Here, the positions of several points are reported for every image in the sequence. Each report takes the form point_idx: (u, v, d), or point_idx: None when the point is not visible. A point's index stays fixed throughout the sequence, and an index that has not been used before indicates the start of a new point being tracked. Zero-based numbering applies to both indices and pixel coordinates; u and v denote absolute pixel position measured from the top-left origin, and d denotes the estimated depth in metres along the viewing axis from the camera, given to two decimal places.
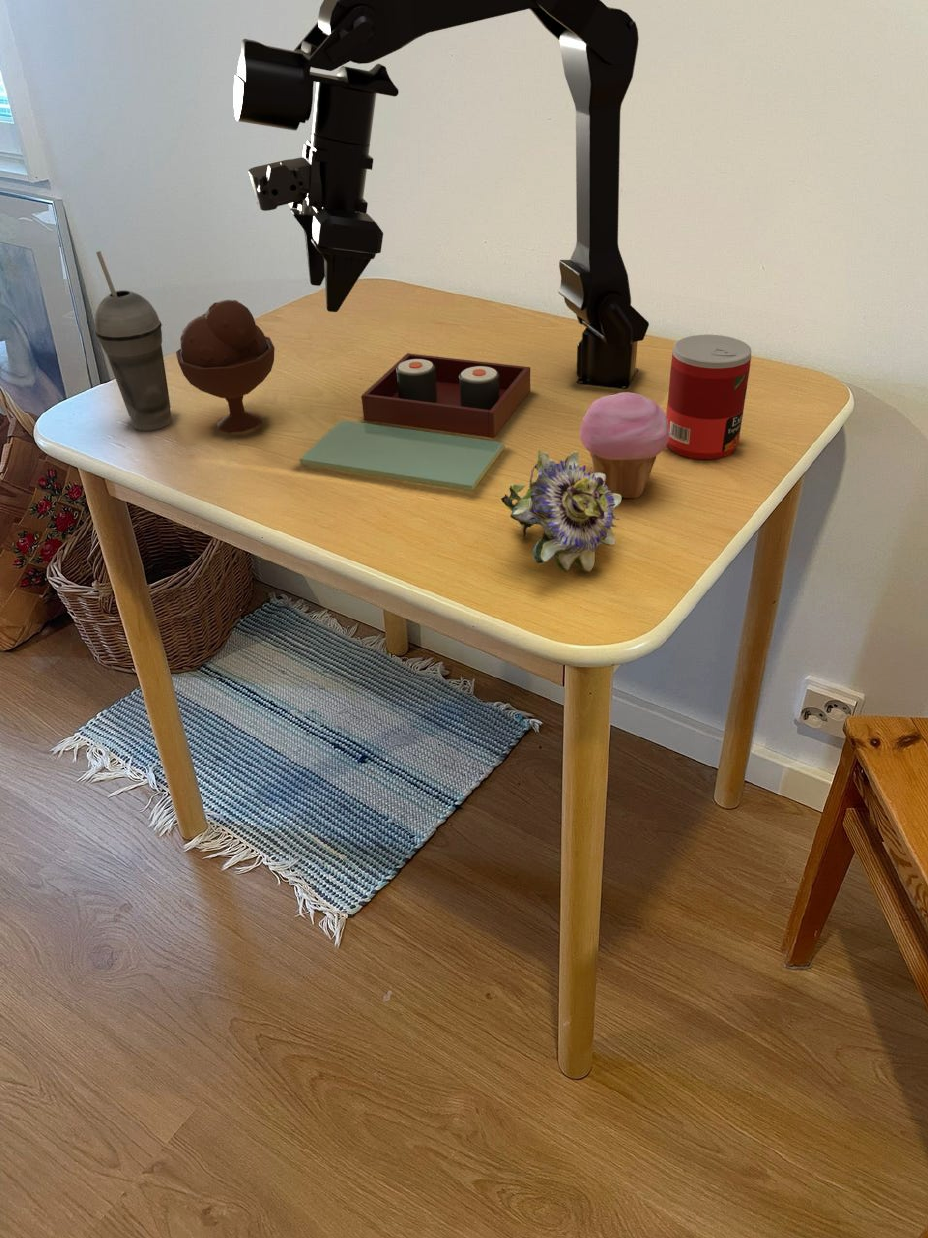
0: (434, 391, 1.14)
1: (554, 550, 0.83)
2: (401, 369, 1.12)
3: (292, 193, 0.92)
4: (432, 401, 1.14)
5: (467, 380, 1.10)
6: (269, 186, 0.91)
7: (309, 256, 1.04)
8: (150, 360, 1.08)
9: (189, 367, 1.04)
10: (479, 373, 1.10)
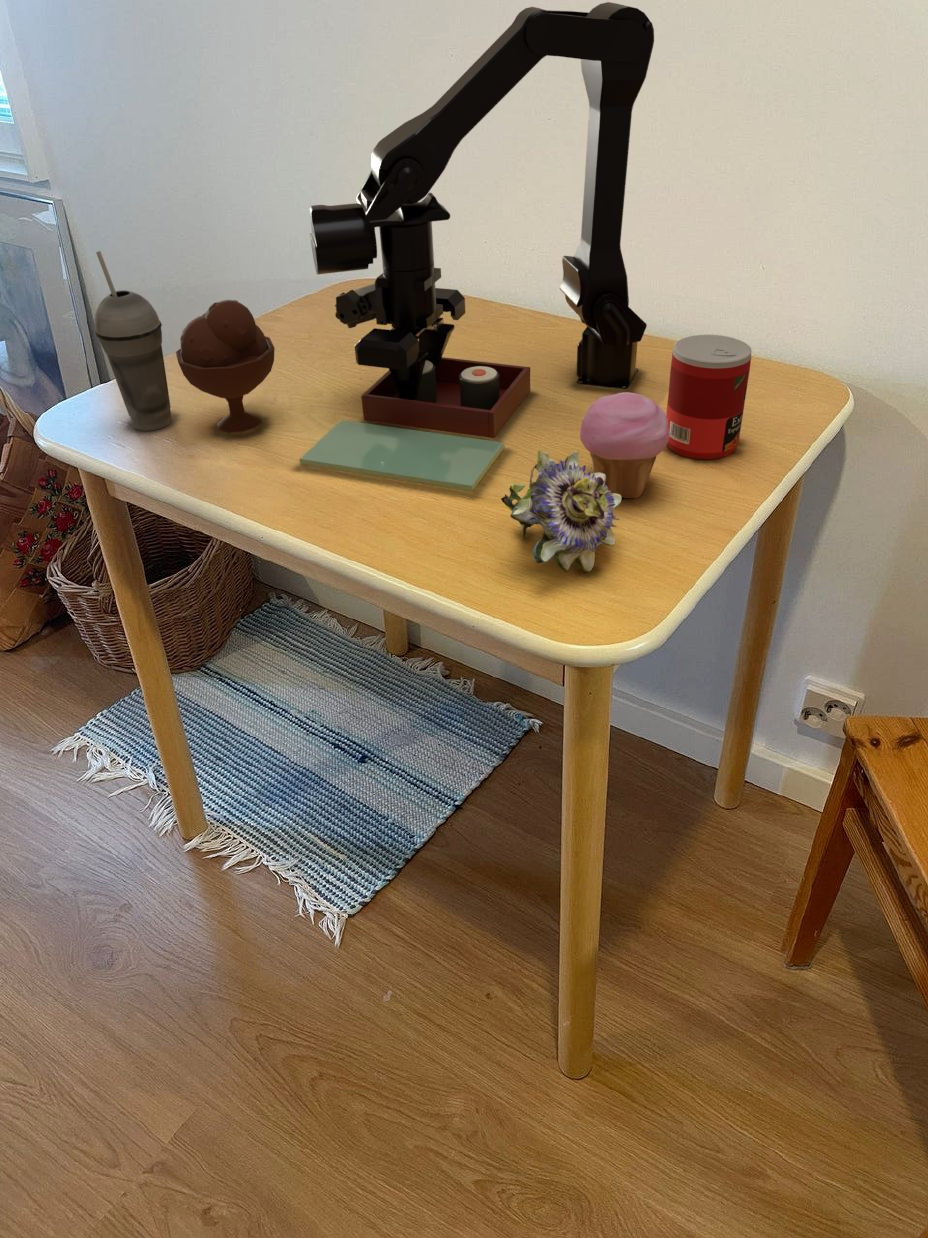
0: (434, 391, 1.14)
1: (554, 550, 0.83)
2: None
3: (354, 316, 1.07)
4: (432, 401, 1.14)
5: (467, 380, 1.10)
6: (337, 311, 1.08)
7: None
8: (150, 360, 1.08)
9: (189, 367, 1.04)
10: (479, 373, 1.10)
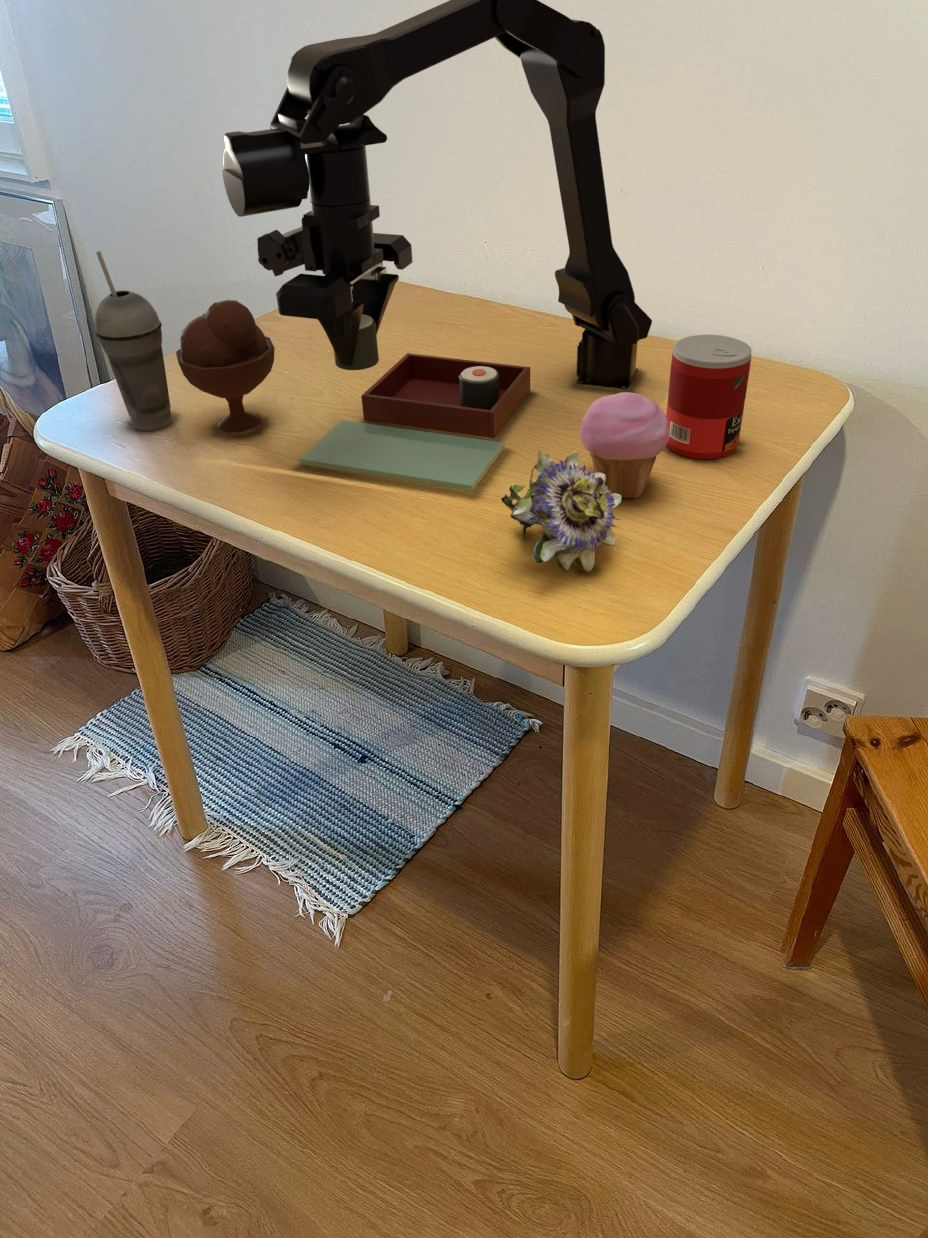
0: (374, 350, 0.99)
1: (554, 550, 0.83)
2: None
3: (279, 260, 0.93)
4: (372, 362, 1.00)
5: (467, 380, 1.10)
6: (259, 255, 0.93)
7: None
8: (150, 360, 1.08)
9: (189, 367, 1.04)
10: (479, 373, 1.10)
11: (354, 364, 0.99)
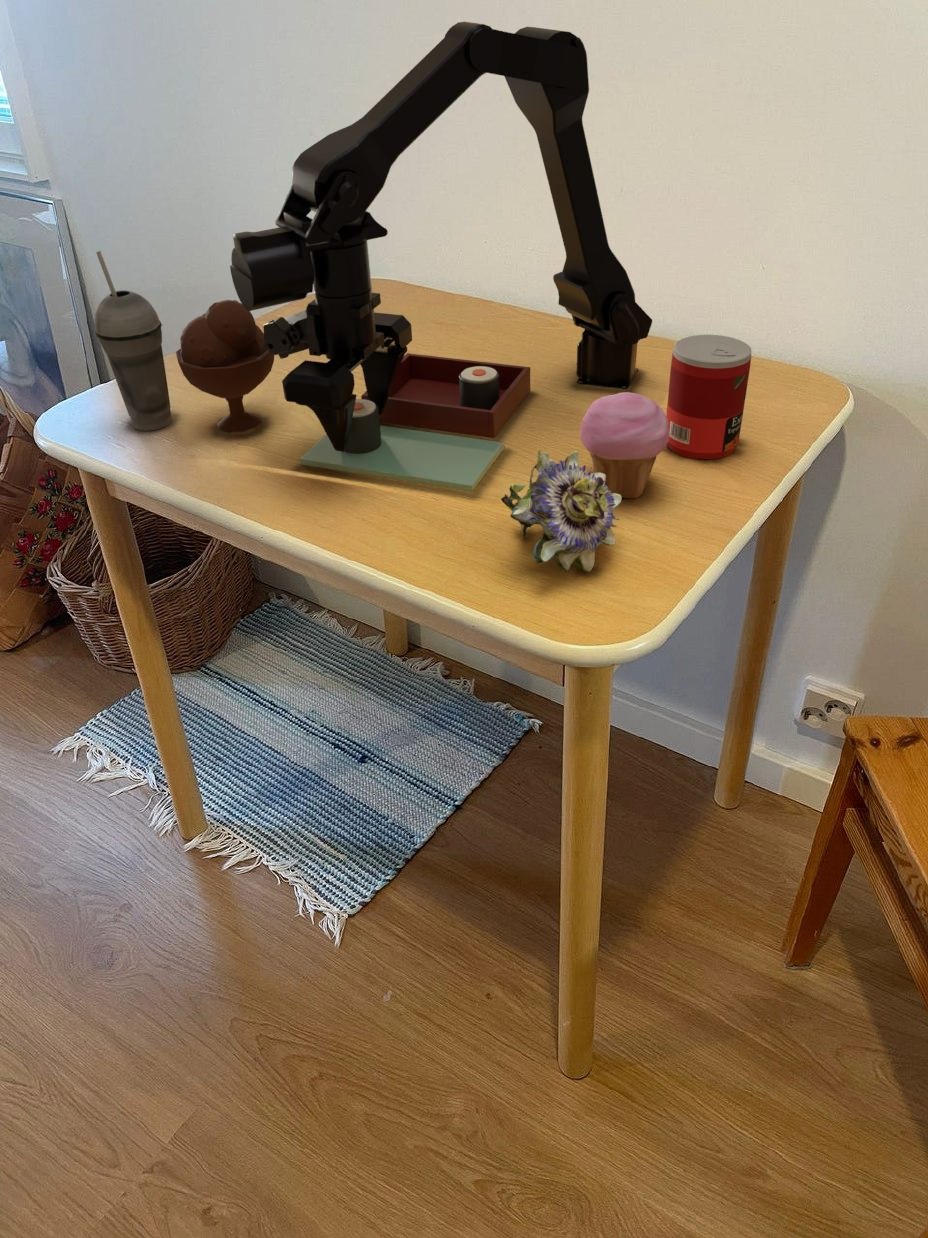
0: (377, 435, 1.04)
1: (554, 550, 0.83)
2: None
3: (284, 346, 0.97)
4: (375, 445, 1.04)
5: (467, 380, 1.10)
6: (265, 341, 0.97)
7: (366, 388, 1.07)
8: (150, 360, 1.08)
9: (189, 367, 1.04)
10: (479, 373, 1.10)
11: (358, 448, 1.03)
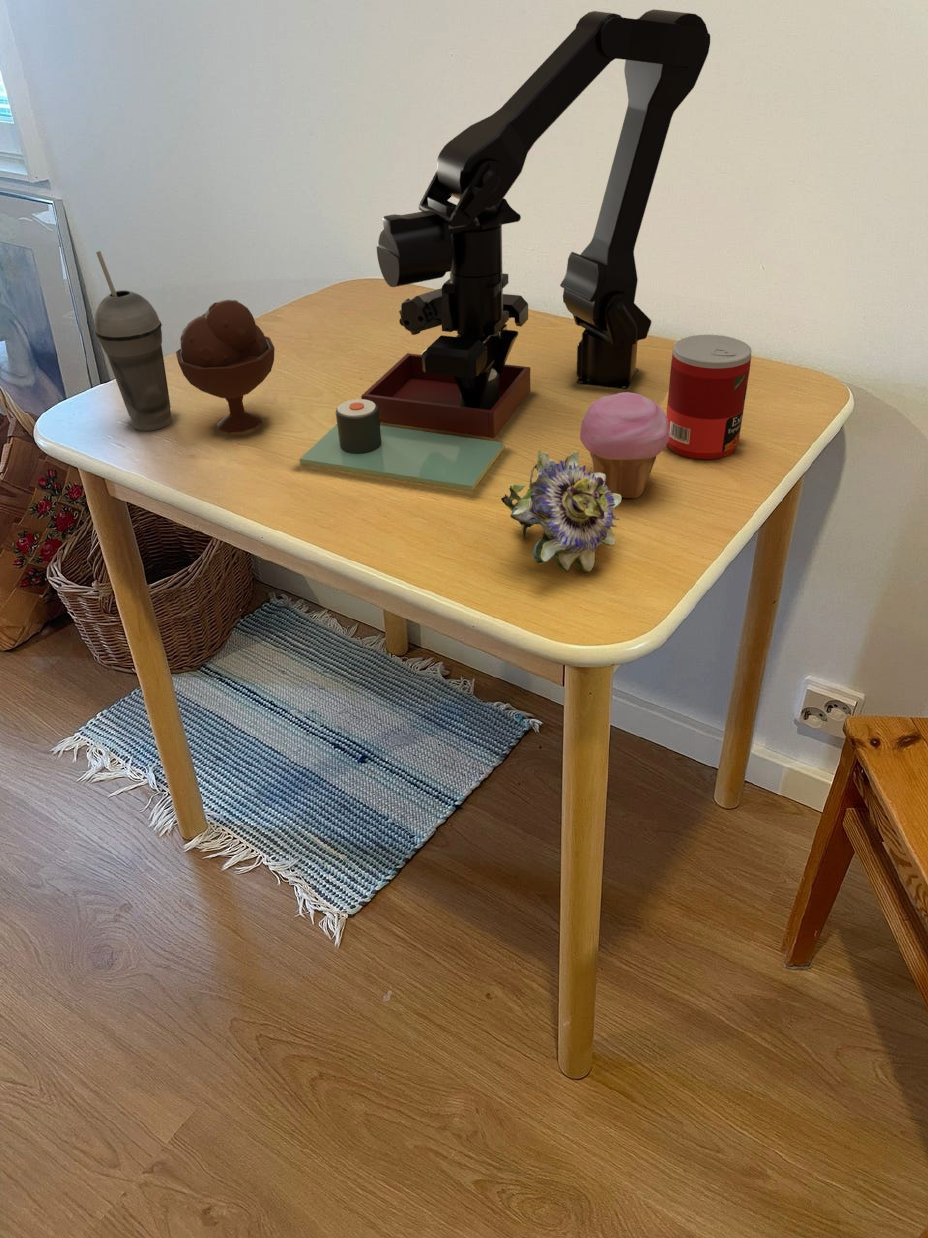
0: (377, 435, 1.04)
1: (554, 550, 0.83)
2: (340, 411, 1.02)
3: (420, 323, 1.05)
4: (375, 445, 1.04)
5: None
6: (401, 318, 1.05)
7: None
8: (150, 360, 1.08)
9: (189, 367, 1.04)
10: None
11: (358, 448, 1.03)
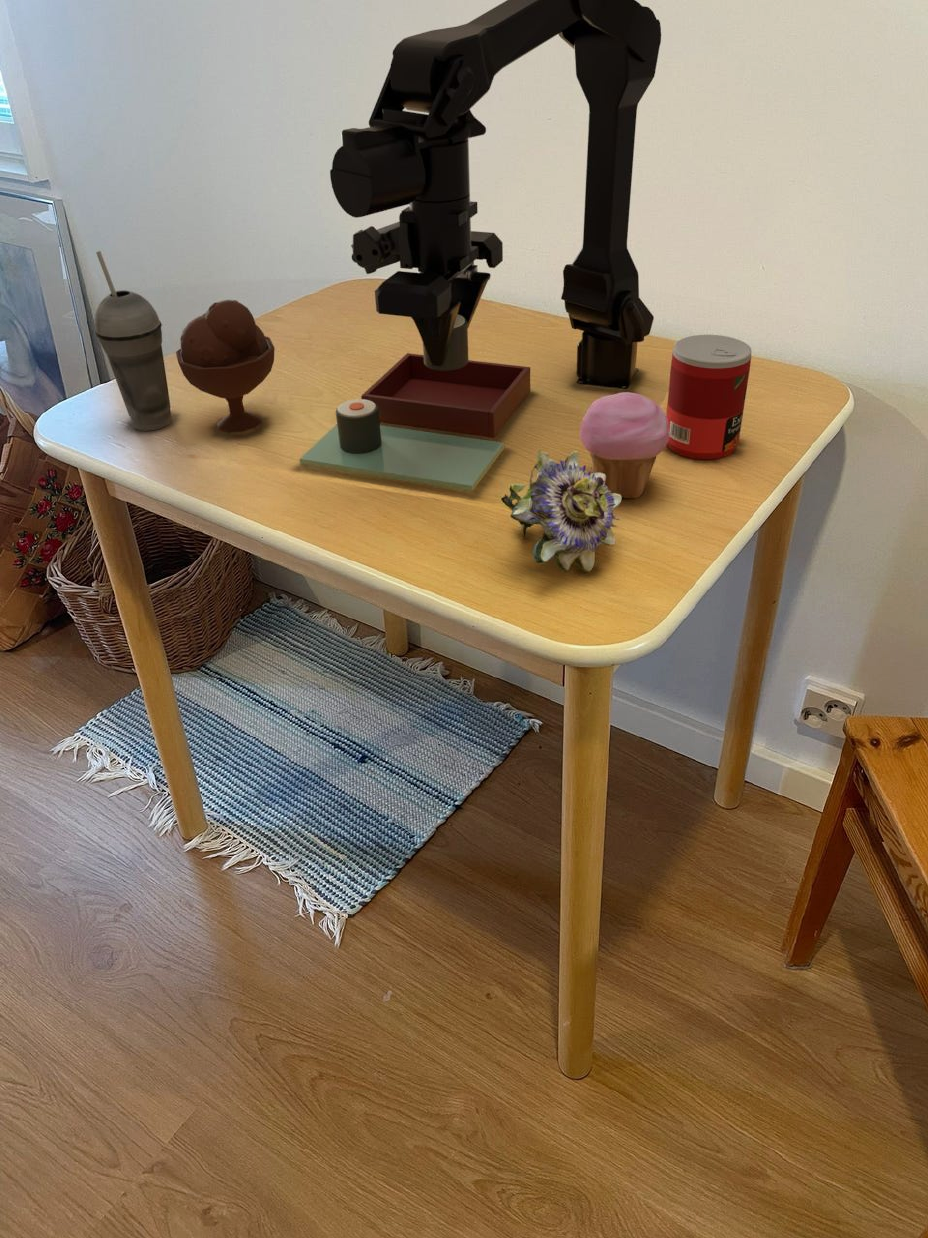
0: (377, 435, 1.04)
1: (554, 550, 0.83)
2: (340, 411, 1.02)
3: (374, 257, 0.90)
4: (375, 445, 1.04)
5: None
6: (353, 252, 0.91)
7: None
8: (150, 360, 1.08)
9: (189, 367, 1.04)
10: None
11: (358, 448, 1.03)
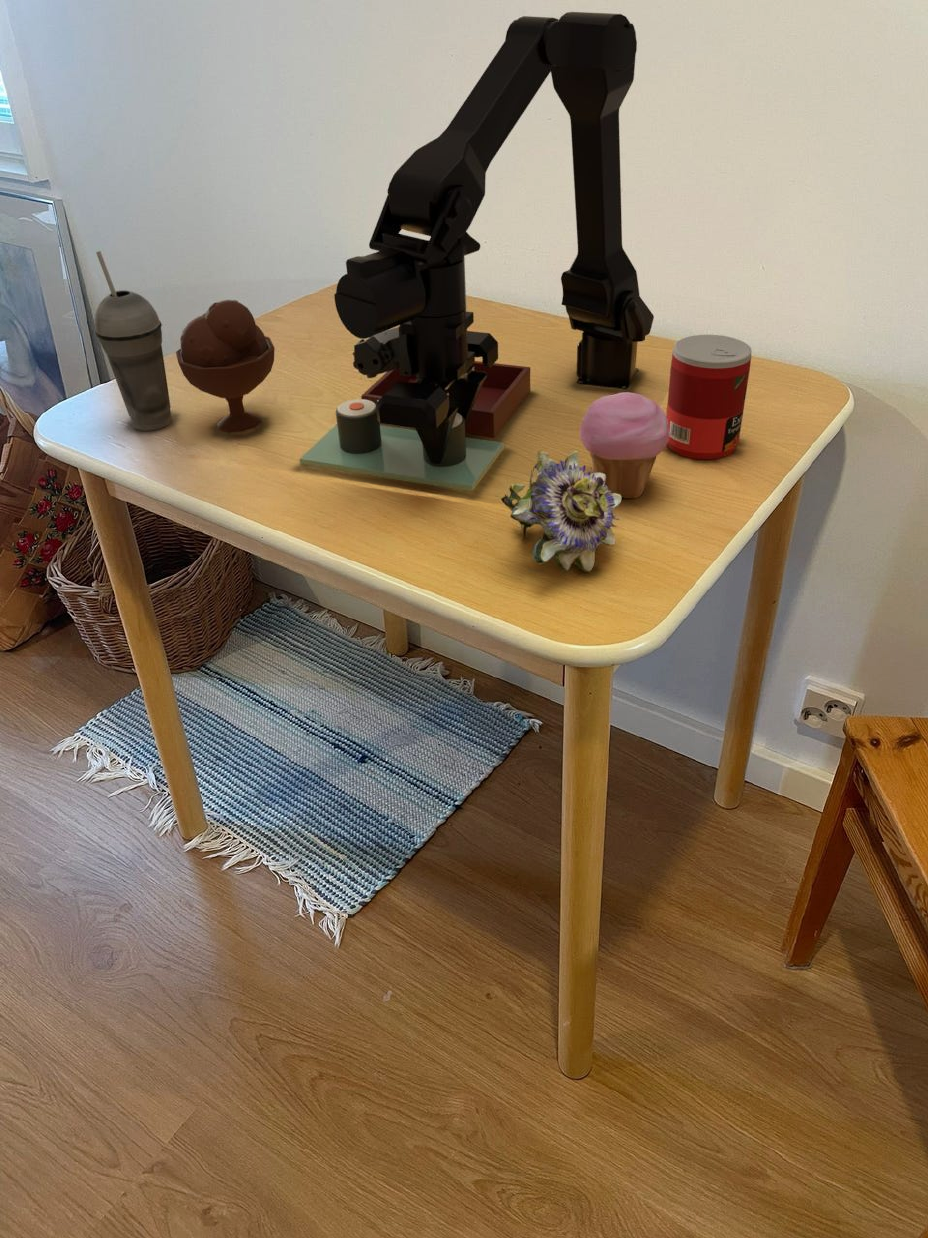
0: (377, 435, 1.04)
1: (554, 550, 0.83)
2: (340, 411, 1.02)
3: (375, 366, 0.94)
4: (375, 445, 1.04)
5: None
6: (355, 361, 0.95)
7: None
8: (150, 360, 1.08)
9: (189, 367, 1.04)
10: None
11: (358, 448, 1.03)
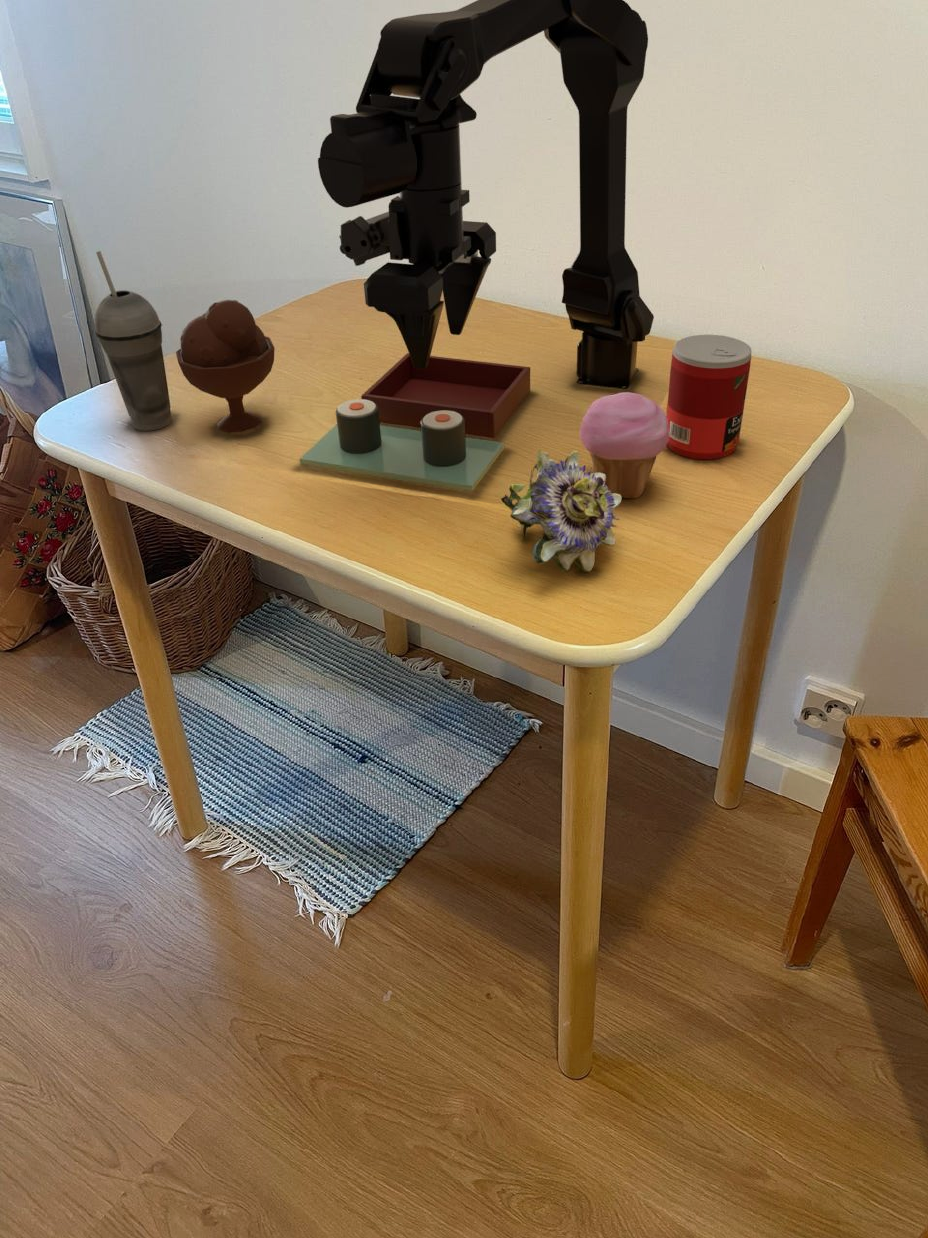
0: (377, 435, 1.04)
1: (554, 550, 0.83)
2: (340, 411, 1.02)
3: (363, 248, 0.87)
4: (375, 445, 1.04)
5: (429, 426, 0.99)
6: (342, 243, 0.88)
7: (445, 304, 0.97)
8: (150, 360, 1.08)
9: (189, 367, 1.04)
10: (442, 419, 0.99)
11: (358, 448, 1.03)
